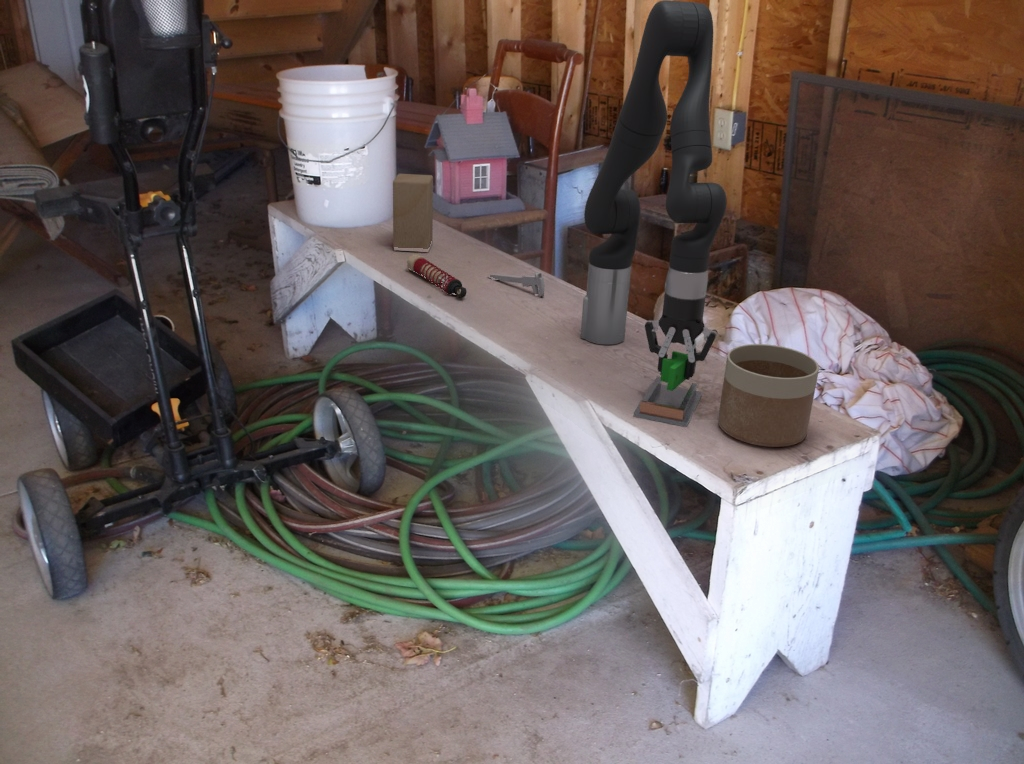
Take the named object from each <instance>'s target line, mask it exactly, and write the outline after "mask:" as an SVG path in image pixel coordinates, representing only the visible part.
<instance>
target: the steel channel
mask: <svg viewBox="0 0 1024 764" xmlns="http://www.w3.org/2000/svg"><path fill="white" fill-rule="evenodd" d="M660 380H661V376H659V375H657V376H656V377H655V379H654V380H653V382H652V383H651V384H650V385H649V387H648V389H647V390H646V392H645V394H644V395H643V396H642V399H641V400H640V402H639V404H638V405H637V406H636V408H635V410H634V411H633V415H632V417H634V416H636V417H635V418H639V417H640V418H639V419H643V420H648V421H649V420H650V421H655V422H661V423H665V424H669V425H675V426H681V427H688V424H689V423H690V422H691V418H692V417H693V414H694V413H695V410H696V408H697V407H698V404H699V402H700V400H701V398H702V396H703V391H700V390H697V389H698V383H695V382H692V383H691V385H690V386H689V388H682V387H679V386H678V387H676V388H675V389H674V390H673V391H670V390H667V385H666V384H662V381H660Z"/></svg>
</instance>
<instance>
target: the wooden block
mask: <svg viewBox="0 0 1024 764" xmlns="http://www.w3.org/2000/svg"><path fill="white" fill-rule="evenodd" d="M433 203H434V177H433V175H432V174H413V173H397V175H396V176H395V178H394V180H393V181H392V218H393V219H392V225H393V227H392V229H393V231H392V235H393V238H392V241H393V242H392V243H393V247H398V248H423V249H428V248H429V247H430V244H431V241H432V242H433V236H434V235H433V229H434V228H433V226H434V225H433V220H434V219H433V218H434V217H433V215H434V214H433V212H434V204H433ZM430 248H431V247H430Z"/></svg>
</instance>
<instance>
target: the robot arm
mask: <svg viewBox="0 0 1024 764" xmlns="http://www.w3.org/2000/svg"><path fill="white" fill-rule="evenodd" d="M644 25H645V26H644V29H643V34H642V37H641V41H640V46H639V50H638V54H637V57H636V58H637V59H636V63H635V66H634V71H633V74H632V77H631V80H630V83H629V87H628V90H627V92H626V96H625V97H624V98H625V99H624V100H623V101H624V102H623V104H622V105H621V106H622V107H621V109H620V111H619V114H618V118H617V120H616V124H615V126H614V130H613V134H612V137H611V141H610V143H609V146H608V149H607V152H606V155H605V157H604V160H603V162H602V166H601V167H600V170H599V172H598V174H597V177H596V178H595V181H594V183H593V185H592V187H591V189H590V191H589V194H588V197H587V200H586V202H585V206H584V217H583V218H584V223H585V224H584V225H585V227H586V229H587V230H588V232H590V233H592V234H595V235H610V236H609V237H608V238H607V239H605V241H603V242H601V243H600V244H598V245H595V246H593V248H591V250H590V251H589V255H588V258H589V259H588V270H587V282H586V283H587V286H586V295H585V296H584V297H583V301H582V310H581V311H582V313H581V314H582V315H581V325H580V326H581V327H580V338H579V339H584V340H586V341H588V342H590V343H593V344H598V345H608V346H609V345H610V346H611V345H617V344H620V343H622V342H624V340H625V337H626V336H625V335H626V327H627V326H626V325H627V315H628V306H629V305H628V304H629V293H630V286H631V285H630V283H631V273H632V263H633V262H632V261H633V259H634V256H635V253H636V247H637V242H638V241H637V240H638V234H639V227H640V221H641V202H640V198H639V196H638V194H637V192H635V190H633V189H630V188H622V187H623V185H624V183H626V181H628V179H629V178H631V176H632V175H633V174H634V173H636V172H637V171H638V170H639V169H640V168H641V167H642V166H644V165H645V164H646V163H647V162H648V161H649V159H650V158H652V157H653V155H654V154H655V153H656V151H657V149H658V147H659V145H660V142H661V139H662V137H663V135H664V132H665V129H666V127H667V123H668V110H667V106H666V105H667V104H666V101H665V98H664V95H663V93H662V89H661V85H660V84H661V83H660V73H661V68H662V65H663V62H664V59H665V58H666V57H668V56H669V57H683V58H684V57H686V58H687V62H688V76H687V81H686V84H685V87H684V89H683V91H682V93H681V96H680V98H679V100H678V102H677V104H676V106H675V108H674V110H673V112H672V116H671V118H670V124H669V125H670V126H669V127H670V128H669V133H670V148H671V158H672V159H671V160H672V161H671V162H672V163H671V169H670V171H671V172H670V177H669V185H668V188H667V194H666V199H665V211H666V213H667V215H668V217H669V219H670V220H671V221H673V222H674V223H676V224H695V226H694V227H693V228H692V229H691V230H689V231H687V232H683V233H680V234H677V235H675V236H674V237H673V238H672V241H671V246H670V254H669V263H668V270H667V274H666V278H665V283H664V296H663V305H662V312H661V313H662V314H661V317H660V318H659V319H655V320H653V319H651V318H650V319H648V320H647V321H646V322H645V324H644V330H645V335H646V340H647V344H648V350H649V352H650V353H652V354H656V355H657V356H658V361H657V372H658V373H659V374H660V376H661V372H662V363H663V359H664V358H666V359H669V354H668V350H669V348H670V346H671V344H681V345H682V346H685V351H686V354H688V359H689V360H688V362H687V369H686V377H685V379H686V380H687V381H689V380H690V379H692V378H693V377H694V375H695V374H696V365H697V362H699V361H700V362H704V361H705V360H706V358H707V356H708V354H709V351H710V349H711V348H712V345H713V343H714V342H715V340H716V338H717V337H718V333H719V332H718V330H717V329H710V328H707V327H706V326H705V323H704V313H705V305H706V297H707V289H708V280H709V277H708V272H709V271H708V268H709V264H710V263H709V262H710V257H711V248H712V246H713V243H714V240H715V238H716V235H717V232H718V230H719V228H720V226H721V224H722V222H723V219H724V216H725V213H726V211H727V210H726V209H727V202H728V200H727V195H726V192H725V189H724V188H723V186H721V185H720V184H719V183H717V182H690V177H691V175H692V174H693V173H697V172H701V171H703V170H706V169H708V168H710V166H711V165H712V162H713V150H712V148H713V146H712V137H711V135H712V134H711V126H710V125H711V124H710V123H711V122H710V96H711V95H710V94H711V81H712V69H713V67H712V66H713V65H712V64H713V49H714V22H713V14H712V12H711V10H710V8H709V7H708V6H707V5H706V4H705V3H701V2H694V1H684V0H682V1H681V0H659V1H658V2H656V3H655V4H654V5H653V6H652V8H651V10H650V12H649V13H648V16H647V19H646V22H645V24H644ZM659 328H660V329H661V331H662V333H663V335H664V336H665V338H664V340H663V342H662V343H661V345H659V341H658V337H657V336H658V335H657V331H658V329H659ZM701 334H703V340H704V341H705V343H704V346H703V347H702V349H701V351H699V352H698V350H697V343H696V339H697V338H698V337H699V336H700V335H701ZM696 350H697V351H696ZM686 380H685V381H686Z"/></svg>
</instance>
